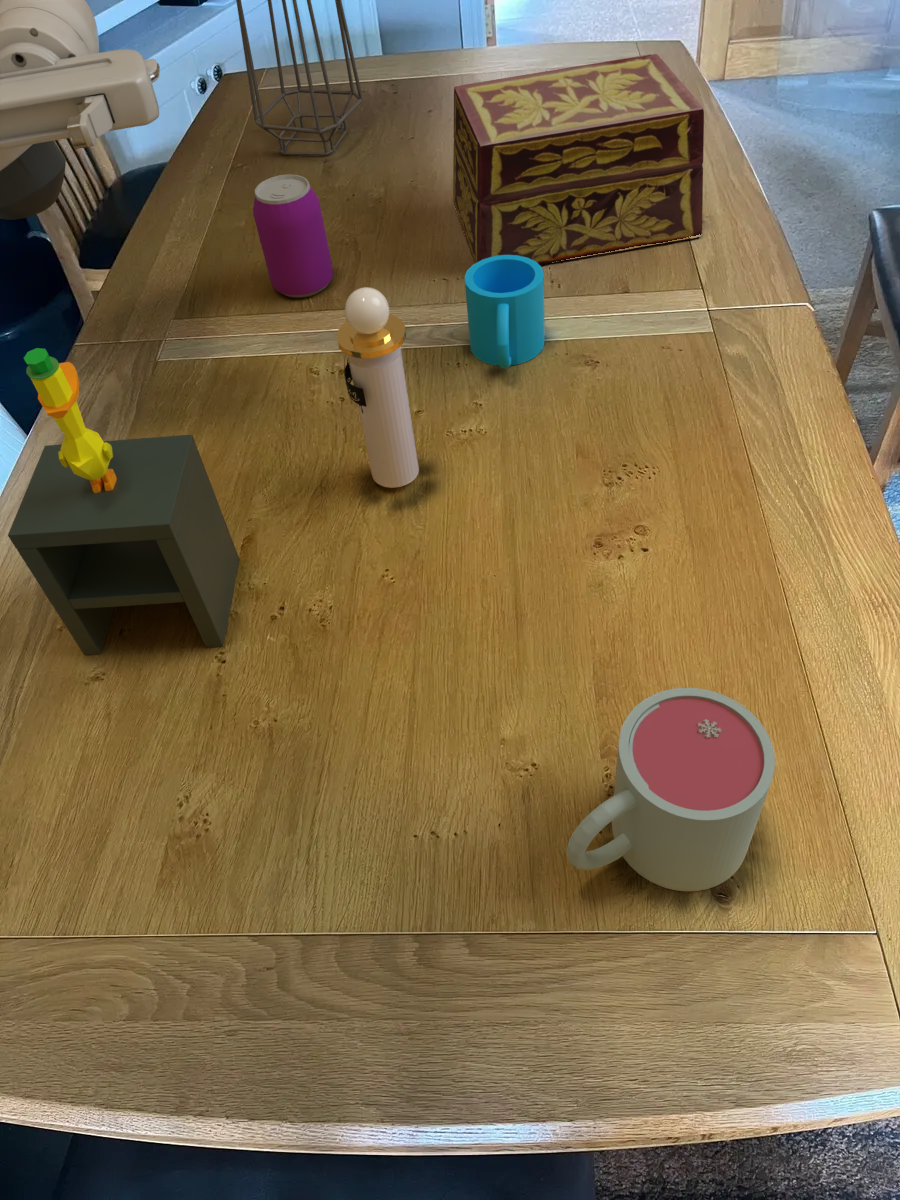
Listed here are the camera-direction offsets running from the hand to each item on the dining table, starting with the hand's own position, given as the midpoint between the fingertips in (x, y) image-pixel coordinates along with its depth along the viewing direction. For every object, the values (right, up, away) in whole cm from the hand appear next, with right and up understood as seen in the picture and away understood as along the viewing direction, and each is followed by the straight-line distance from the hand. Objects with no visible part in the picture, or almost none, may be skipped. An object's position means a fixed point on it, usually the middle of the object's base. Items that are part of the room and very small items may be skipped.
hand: (17, 148), depth 69 cm
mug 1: (+38, -7, +32) cm, 50 cm away
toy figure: (+6, -25, +1) cm, 25 cm away
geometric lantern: (+12, +34, +70) cm, 79 cm away
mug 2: (+46, -50, -6) cm, 68 cm away
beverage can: (+14, +5, +45) cm, 47 cm away
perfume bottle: (+27, -22, +21) cm, 40 cm away
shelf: (+7, -34, +12) cm, 37 cm away
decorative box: (+48, +14, +49) cm, 70 cm away
